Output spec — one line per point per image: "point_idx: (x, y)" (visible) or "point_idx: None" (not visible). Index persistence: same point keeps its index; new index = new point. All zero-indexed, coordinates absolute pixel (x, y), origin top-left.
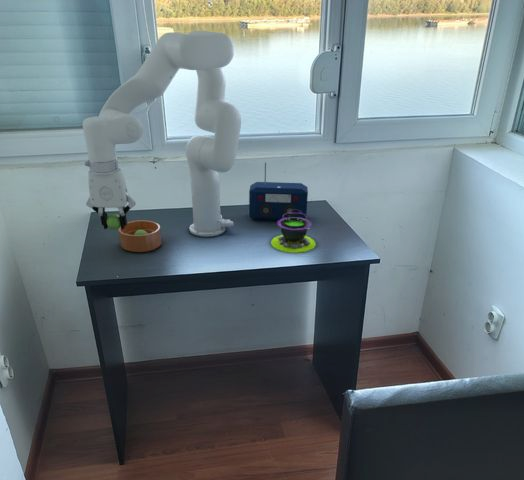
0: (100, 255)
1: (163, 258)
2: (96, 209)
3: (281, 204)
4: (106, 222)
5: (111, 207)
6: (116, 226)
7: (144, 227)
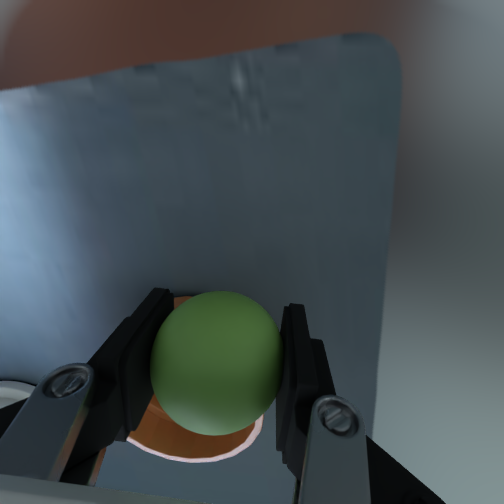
0: (334, 289)
1: (96, 247)
2: (398, 502)
3: None
4: (279, 342)
5: (103, 490)
6: (196, 296)
7: (185, 430)
